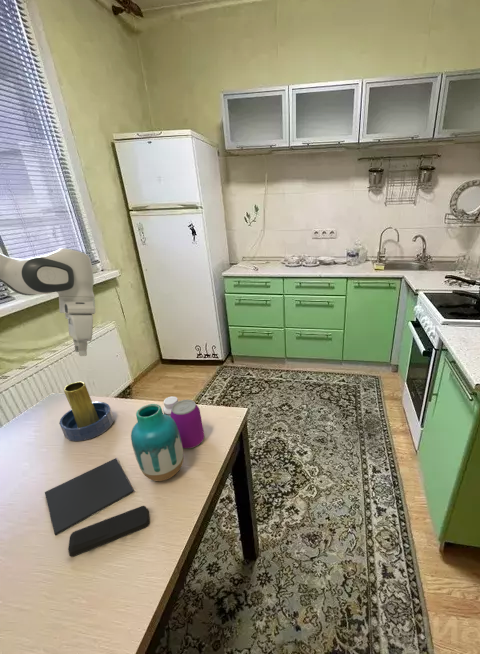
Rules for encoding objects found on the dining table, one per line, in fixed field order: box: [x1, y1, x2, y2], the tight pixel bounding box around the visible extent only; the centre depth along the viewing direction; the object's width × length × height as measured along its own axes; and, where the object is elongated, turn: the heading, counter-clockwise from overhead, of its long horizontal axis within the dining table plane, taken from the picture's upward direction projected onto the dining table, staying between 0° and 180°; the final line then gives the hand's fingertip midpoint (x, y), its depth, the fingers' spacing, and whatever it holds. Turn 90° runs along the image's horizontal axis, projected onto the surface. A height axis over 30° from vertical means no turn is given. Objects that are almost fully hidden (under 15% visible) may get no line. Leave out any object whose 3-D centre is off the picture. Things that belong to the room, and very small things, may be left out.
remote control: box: [67, 505, 151, 558], centre depth 67 cm, size 5×2×15 cm
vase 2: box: [130, 403, 184, 482], centre depth 77 cm, size 11×11×19 cm
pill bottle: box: [162, 396, 179, 417], centre depth 96 cm, size 5×5×9 cm
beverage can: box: [170, 399, 205, 449], centre depth 89 cm, size 8×8×12 cm
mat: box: [44, 457, 135, 536], centre depth 77 cm, size 16×14×1 cm
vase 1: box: [63, 381, 100, 428], centre depth 95 cm, size 6×6×14 cm
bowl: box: [58, 401, 115, 442], centre depth 97 cm, size 13×13×4 cm
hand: (80, 353), depth 96 cm, fingers open, 8 cm apart
